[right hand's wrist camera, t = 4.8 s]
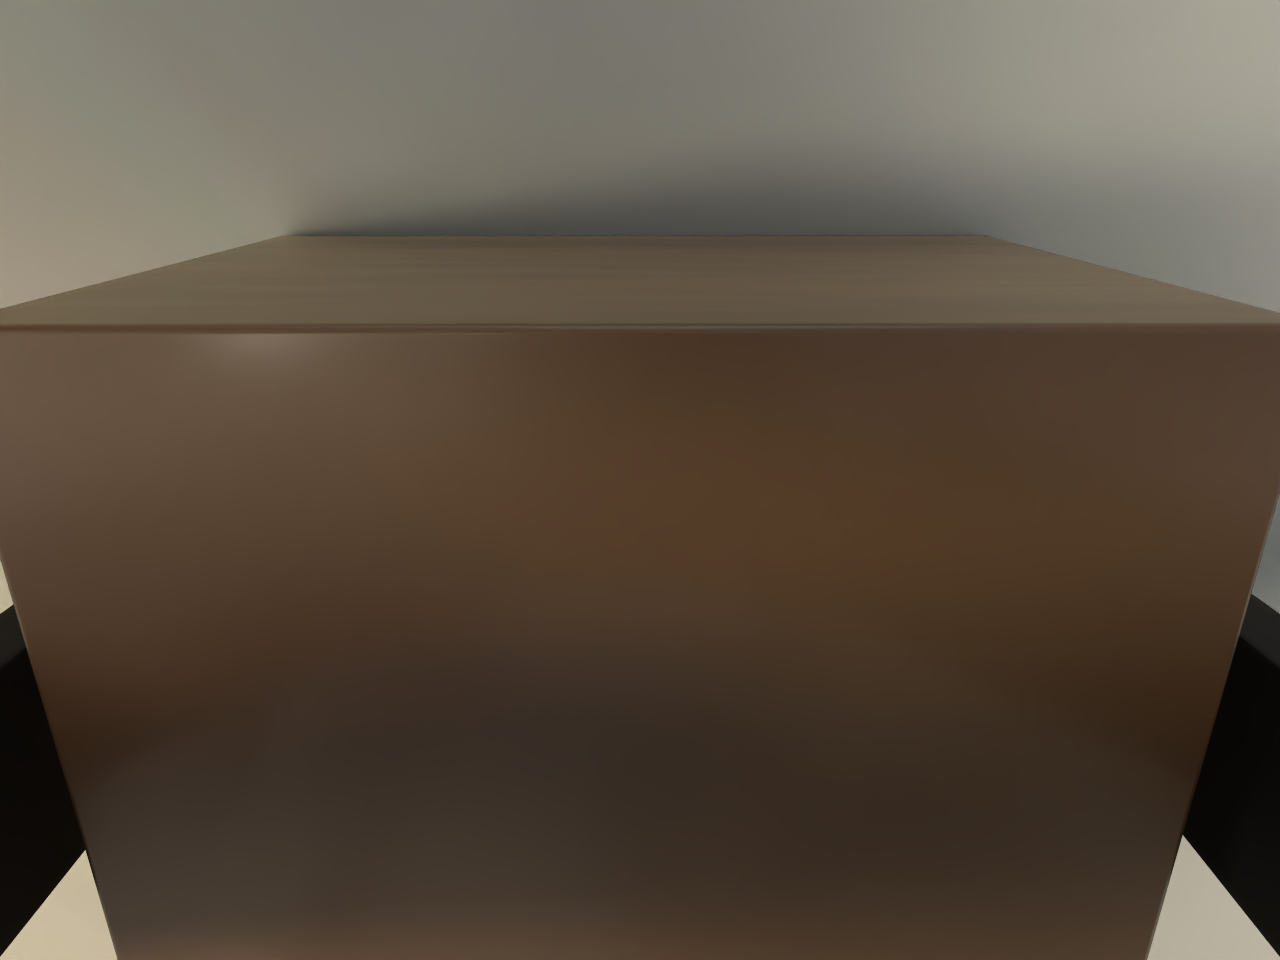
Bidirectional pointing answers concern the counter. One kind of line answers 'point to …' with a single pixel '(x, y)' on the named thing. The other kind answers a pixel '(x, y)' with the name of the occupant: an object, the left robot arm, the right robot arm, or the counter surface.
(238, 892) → the wide beam
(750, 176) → the counter surface
